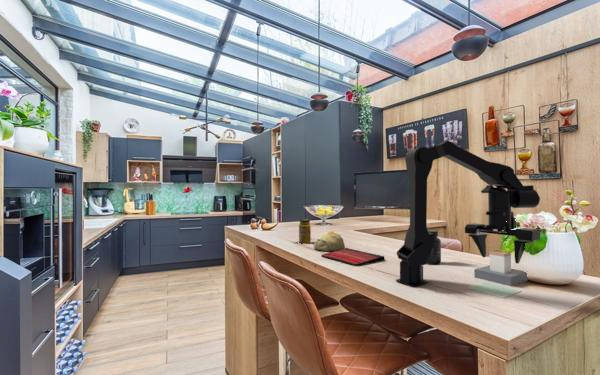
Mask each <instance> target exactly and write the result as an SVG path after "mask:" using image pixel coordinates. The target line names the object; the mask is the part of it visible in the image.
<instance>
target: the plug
mask: <svg viewBox="0 0 600 375" xmlns="http://www.w3.org/2000/svg"><path fill="white" fill-rule="evenodd" d="M502 251H503V250H499V249H498V250H492V251H489V265H490V270H491V271H496V272H501V273H508V272H511V269H512V252H511V253H503V252H502Z"/></svg>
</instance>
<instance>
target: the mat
mask: <svg viewBox="0 0 600 375" xmlns="http://www.w3.org/2000/svg"><path fill="white" fill-rule="evenodd" d="M467 289H469V290H472V291H476V292H479V293H484V294H487V295H490V296H494V297H497V298H501V299H505V298H508V297H511V296H513V295H515V294H519V293H520V292H522V290H519V289H518V290H517V289H514V288H511V287H508V286H507V287H505V286H502V285H499V284H495V283H492V282H491V283H490V282H488V281H487V282H486V281H485V282H482V283H481V282H480V283H479V284H475V285H473V286H469V287H467Z"/></svg>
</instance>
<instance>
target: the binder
mask: <svg viewBox="0 0 600 375" xmlns="http://www.w3.org/2000/svg"><path fill="white" fill-rule="evenodd" d="M321 257H322V258H324V259H329V260H332V261H337V262H340V263H343V264H346V265H348V266H352V267H359V266H364V265H370V264H374V263H376V262H377V261H379V260H380V261H385V260H386V259H385V258H386V257H385V256H384V255H380V254H375V253H371V252H365V251H361V250H356V249H353V248H348V247H345V249H341V250H338V251H329V252H327V253H322V254H321Z"/></svg>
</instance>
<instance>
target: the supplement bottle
mask: <svg viewBox="0 0 600 375" xmlns="http://www.w3.org/2000/svg"><path fill="white" fill-rule="evenodd" d="M428 232H429V233H433V234H434V242H433V243H434V247H435V248H432V253H431V255H429V256H428V258H427V261H426V264H425V265H440V264H441V263H442V239H440V238H439V231H438V230H435V229H428Z"/></svg>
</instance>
